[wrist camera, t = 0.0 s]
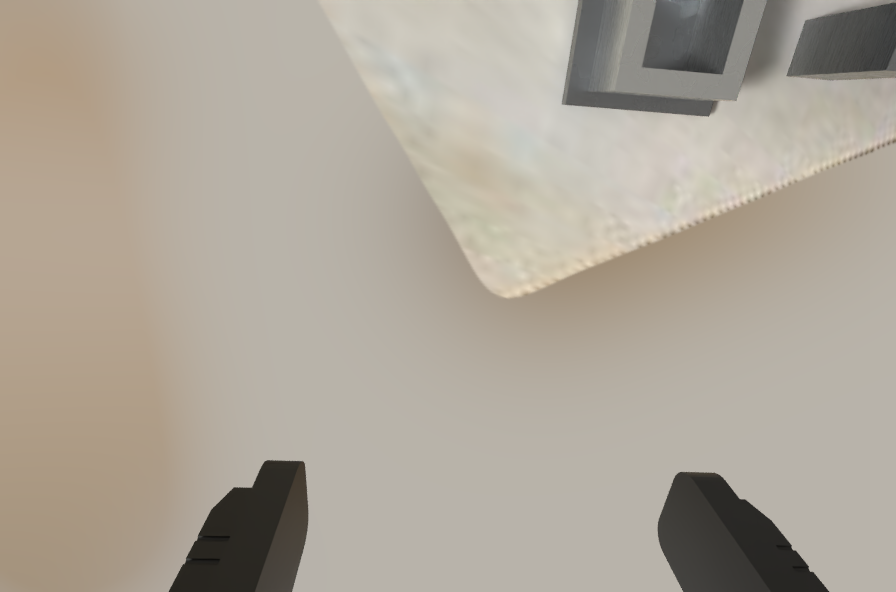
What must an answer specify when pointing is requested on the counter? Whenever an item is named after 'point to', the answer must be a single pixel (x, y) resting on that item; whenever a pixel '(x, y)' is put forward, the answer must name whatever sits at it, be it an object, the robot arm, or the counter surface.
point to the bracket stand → (660, 53)
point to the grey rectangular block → (848, 46)
